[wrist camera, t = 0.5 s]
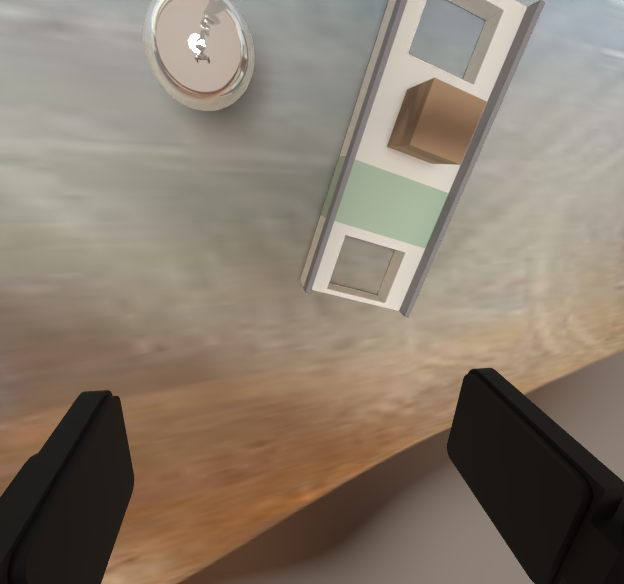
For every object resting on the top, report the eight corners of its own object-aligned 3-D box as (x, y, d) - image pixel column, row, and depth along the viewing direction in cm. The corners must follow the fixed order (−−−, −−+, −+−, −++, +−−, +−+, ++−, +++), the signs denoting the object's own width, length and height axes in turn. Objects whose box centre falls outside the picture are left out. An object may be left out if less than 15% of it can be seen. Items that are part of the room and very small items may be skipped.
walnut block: (407, 89, 31) (434, 77, 27) (453, 109, 32) (487, 101, 28) (386, 146, 33) (409, 144, 28) (431, 163, 34) (460, 164, 29)
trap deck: (401, -41, 30) (423, -69, 26) (511, 19, 33) (545, 2, 29) (300, 279, 39) (305, 292, 35) (394, 303, 42) (408, 317, 38)
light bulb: (265, 104, 32) (275, 76, 21) (196, 134, 32) (168, 122, 21) (231, 17, 29) (221, -69, 18) (155, 49, 29) (98, -17, 18)
